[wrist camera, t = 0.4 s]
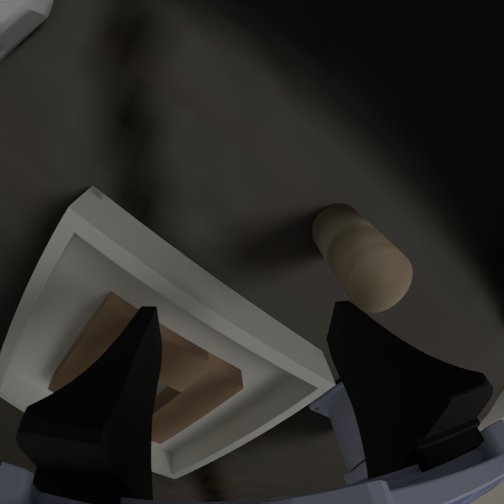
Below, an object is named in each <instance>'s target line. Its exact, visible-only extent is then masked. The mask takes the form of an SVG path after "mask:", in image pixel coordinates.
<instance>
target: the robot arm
mask: <svg viewBox="0 0 504 504" xmlns="http://www.w3.org/2000/svg"><path fill="white" fill-rule="evenodd" d="M327 342H328V346H329V350H330V353H331V357H332V360H333V362H334V365H335V367H336V369H337V372H338V374H339V376H340V378H341V382H340V383H339V384H337V385H336V386H334V387H333V388H332V389H330V390H329V391H328V392H326V393H325V394H323V395H322V396H320V397H319V398H318V399H316V400H315V401H313V402H312V403H310V404H309V409H310V410H313V411H315V412H317V413H320V414H322V415H324V416H327V417H329V418H330V420H331V423H332V426H333V429H334V432H335V435H336V438H337V441H338V444H339V447H340V450H341V452H342V455H343V458H344V461H345V464H346V467H347V470H348V474H346V475H344V478H345V481H346V484H344V485H342V486H340V487H336V488H331V489H326V490H321V491H316V492H310V493H305V494H298V495H292V496H285V497H277V498H268V499H258V500H245V501H228V502H172V501H155V500H153V493H152V470H151V439H152V418H153V410H154V404H155V398H156V393H157V387H158V381H159V376H160V370H161V361H162V339H161V333H160V326H159V319H158V312H157V306H142V307H141V308H139V310H138V311H137V313H136V314H135V315H134V317H133V318H132V319H131V321H130V322H129V323H128V325H127V326H126V327H125V329H124V330H123V331H122V332H121V334H120V335H119V336H118V337H117V339H116V340H115V341H114V342H113V343H112V344H111V345H110V347H109V348H108V349H107V350H106V351H105V352H104V353H103V354H102V355H101V356H100V357H99V358H98V359H97V360H96V361H95V362H94V363H93V364H92V365H91V366H90V367H89V368H88V369H86V370H85V371H84V372H83V373H81V374H80V375H79V376H78V377H76V378H75V379H74V380H72V381H71V382H70V383H68V384H67V385H65V386H64V387H62V388H61V389H59V390H57V391H56V392H54V393H52V394H51V395H49V396H47V397H45V398H43V399H41V400H39V401H37V402H35V403H33V404H31V405H29V406H27V408H26V410H25V412H24V415H23V417H22V420H21V423H20V426H19V429H18V432H17V435H16V441H17V444H18V445H19V447H20V448H21V450H22V451H23V452H24V453H25V454H26V455H27V456H28V457H29V459H30V460H31V461H32V462H33V463H34V464H35V465H36V466H37V469H36V473H35V474H34V473H33V472H31V471H29V470H27V469H24V468H21V467H18V466H15V465H11V464H8V463H6V462H2V463H1V467H0V504H469V503H471V502H473V501H474V500H476V499H477V498H479V497H481V496H483V495H484V494H486V493H487V492H489V491H491V490H492V489H494V488H495V487H496V486H497V485H498V484H500V483H501V482H502V481H504V421H503V420H499V421H497V422H495V423H493V424H491V425H489V426H487V427H486V428H484V429H483V430H482V431H479V430H478V428H477V426H479V424H480V422H479V420H478V419H477V416H478V415H479V414H480V412H481V411H482V410H483V408H484V407H485V406H486V404H487V403H488V401H489V400H490V398H491V396H492V394H493V387H492V385H491V384H490V382H489V381H488V380H487V378H486V377H485V375H484V374H483V373H479V372H475V371H471V370H467V369H463V368H460V367H457V366H454V365H451V364H448V363H446V362H443V361H441V360H438V359H436V358H434V357H432V356H430V355H427V354H425V353H424V352H422V351H420V350H418V349H416V348H414V347H413V346H411V345H409V344H407V343H406V342H404V341H403V340H401V339H400V338H398V337H397V336H395V335H394V334H392V333H391V332H389V331H388V330H387V329H385V328H384V327H383V326H381V325H380V324H379V323H377V322H376V321H375V320H373V319H372V318H371V317H370V316H368V315H367V314H366V313H364V312H363V311H362V310H361V309H359V308H358V307H357V306H355V305H354V304H353V303H351V302H350V301H340V302H335V306H334V311H333V315H332V319H331V323H330V327H329V331H328V335H327Z"/></svg>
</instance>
